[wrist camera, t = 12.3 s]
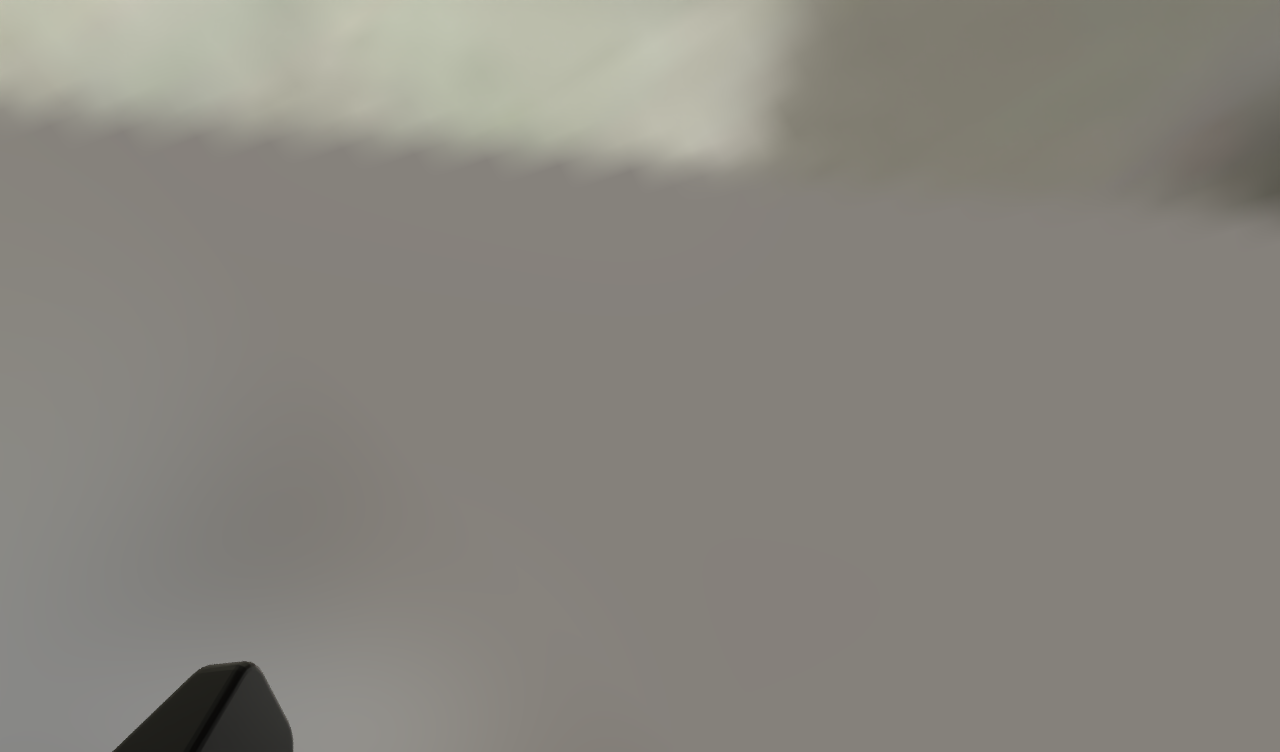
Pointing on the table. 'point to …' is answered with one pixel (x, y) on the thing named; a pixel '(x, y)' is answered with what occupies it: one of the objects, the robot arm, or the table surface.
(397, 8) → the table surface
